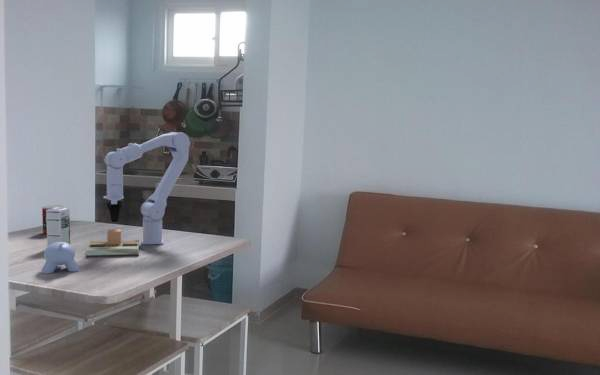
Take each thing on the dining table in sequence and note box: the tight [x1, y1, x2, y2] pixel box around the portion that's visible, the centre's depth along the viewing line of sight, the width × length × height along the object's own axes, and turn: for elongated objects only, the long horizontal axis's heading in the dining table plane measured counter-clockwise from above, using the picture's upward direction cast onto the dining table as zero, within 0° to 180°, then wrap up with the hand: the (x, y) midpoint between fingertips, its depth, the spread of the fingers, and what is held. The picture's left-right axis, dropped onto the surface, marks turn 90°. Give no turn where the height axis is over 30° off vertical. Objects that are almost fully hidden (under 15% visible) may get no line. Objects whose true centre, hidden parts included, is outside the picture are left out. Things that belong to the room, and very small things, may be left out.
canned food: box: [41, 204, 64, 235], centre depth 246 cm, size 8×8×11 cm
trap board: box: [86, 239, 140, 258], centre depth 215 cm, size 16×17×2 cm
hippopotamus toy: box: [41, 242, 81, 275], centre depth 188 cm, size 11×15×10 cm
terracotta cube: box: [106, 229, 122, 244], centre depth 217 cm, size 4×4×4 cm
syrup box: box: [46, 207, 71, 248], centre depth 217 cm, size 6×6×14 cm
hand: (115, 221), depth 223 cm, fingers open, 3 cm apart
